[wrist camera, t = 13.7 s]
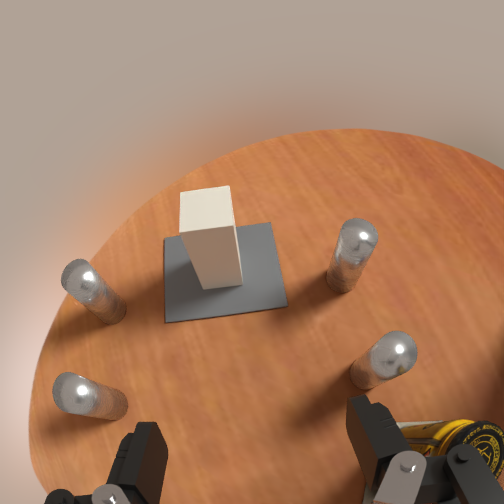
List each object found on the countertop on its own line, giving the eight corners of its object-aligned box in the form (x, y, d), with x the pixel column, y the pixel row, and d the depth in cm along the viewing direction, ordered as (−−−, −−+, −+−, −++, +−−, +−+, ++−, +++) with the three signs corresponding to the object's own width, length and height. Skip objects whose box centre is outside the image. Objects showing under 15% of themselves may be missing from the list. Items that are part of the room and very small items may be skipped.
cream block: (239, 250, 34) (229, 185, 25) (243, 284, 32) (233, 225, 23) (201, 255, 34) (180, 192, 25) (203, 289, 32) (179, 232, 23)
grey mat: (270, 223, 36) (270, 222, 36) (287, 306, 31) (288, 305, 30) (165, 238, 35) (164, 237, 35) (166, 322, 30) (165, 322, 30)
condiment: (441, 420, 23) (521, 403, 13) (430, 500, 19) (505, 519, 9) (374, 422, 24) (437, 413, 14) (360, 506, 20) (414, 544, 10)
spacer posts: (351, 262, 33) (370, 216, 26) (385, 384, 26) (421, 367, 19) (100, 297, 32) (63, 261, 25) (100, 419, 25) (52, 411, 18)
